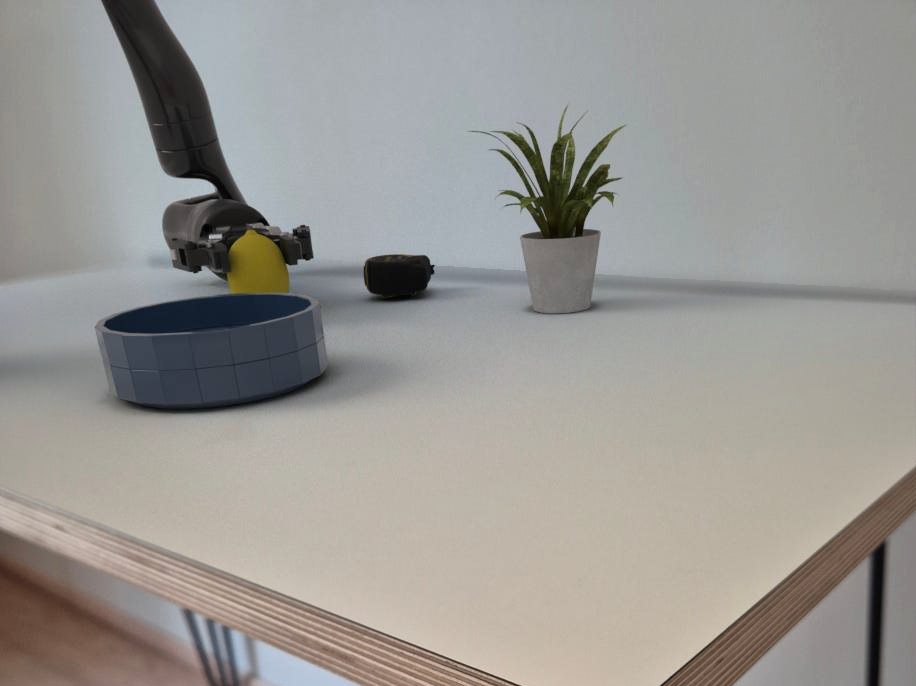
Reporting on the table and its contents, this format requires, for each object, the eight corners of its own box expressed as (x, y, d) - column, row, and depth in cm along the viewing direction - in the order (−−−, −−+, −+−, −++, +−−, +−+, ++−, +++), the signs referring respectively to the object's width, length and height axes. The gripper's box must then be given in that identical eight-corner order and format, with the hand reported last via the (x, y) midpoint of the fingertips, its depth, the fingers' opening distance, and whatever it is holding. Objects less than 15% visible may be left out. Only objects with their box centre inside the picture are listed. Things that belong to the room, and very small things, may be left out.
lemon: (250, 316, 93) (234, 227, 89) (303, 315, 92) (290, 224, 88) (225, 328, 89) (208, 235, 85) (282, 327, 87) (266, 232, 84)
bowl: (144, 427, 61) (125, 346, 58) (92, 383, 72) (75, 314, 70) (362, 383, 67) (353, 308, 65) (283, 349, 79) (273, 285, 76)
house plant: (451, 326, 83) (435, 110, 75) (488, 297, 95) (477, 107, 87) (617, 323, 80) (619, 97, 72) (634, 293, 91) (637, 96, 83)
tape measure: (429, 300, 95) (425, 260, 93) (360, 303, 96) (356, 263, 94) (436, 288, 101) (433, 250, 99) (371, 292, 102) (367, 254, 100)
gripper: (151, 206, 95) (167, 218, 81) (293, 193, 100) (332, 202, 86) (167, 286, 99) (185, 310, 85) (304, 270, 103) (343, 291, 89)
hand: (259, 256), depth 85 cm, fingers closed on lemon, 5 cm apart
